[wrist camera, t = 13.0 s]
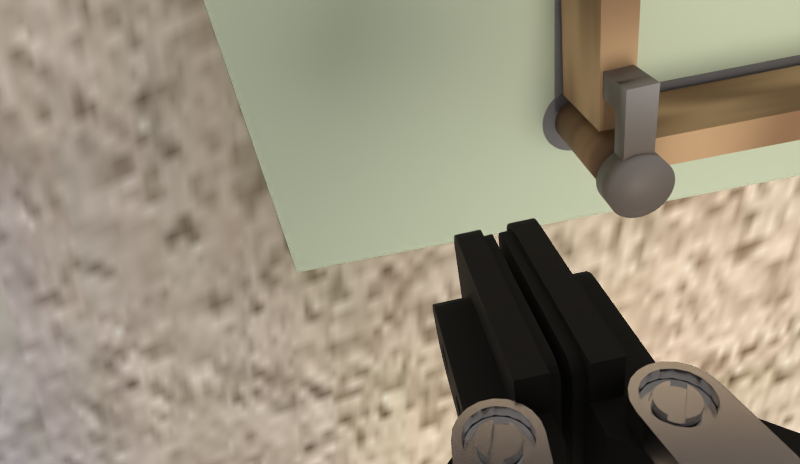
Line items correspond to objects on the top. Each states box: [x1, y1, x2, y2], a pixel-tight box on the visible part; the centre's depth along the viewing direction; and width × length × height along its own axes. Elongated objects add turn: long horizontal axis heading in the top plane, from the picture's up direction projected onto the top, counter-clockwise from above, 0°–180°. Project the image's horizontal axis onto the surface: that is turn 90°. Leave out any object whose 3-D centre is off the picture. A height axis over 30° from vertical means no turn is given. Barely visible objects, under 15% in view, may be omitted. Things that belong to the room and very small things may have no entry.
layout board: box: [203, 0, 800, 272], centre depth 21 cm, size 26×17×1 cm, turn 99°
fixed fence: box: [555, 65, 800, 179], centre depth 21 cm, size 14×2×4 cm, turn 99°
